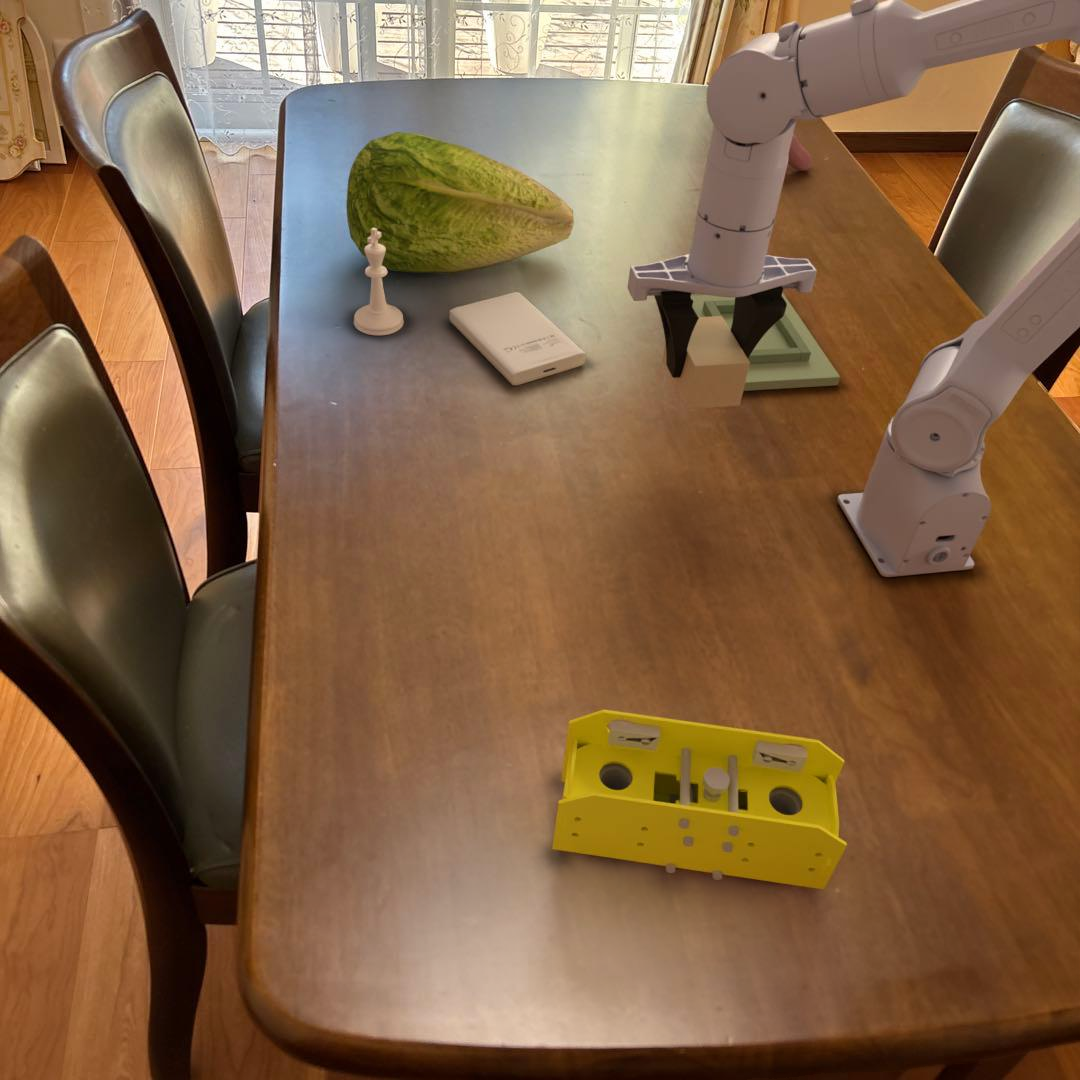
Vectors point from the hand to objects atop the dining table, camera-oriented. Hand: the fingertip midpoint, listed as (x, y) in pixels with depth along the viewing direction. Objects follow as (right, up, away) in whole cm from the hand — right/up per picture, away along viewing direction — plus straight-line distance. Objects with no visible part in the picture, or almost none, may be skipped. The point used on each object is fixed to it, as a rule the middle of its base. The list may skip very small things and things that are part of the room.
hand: (703, 368), depth 85 cm
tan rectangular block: (0, -1, +1) cm, 1 cm away
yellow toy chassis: (-5, -32, -22) cm, 40 cm away
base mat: (+8, +6, +19) cm, 21 cm away
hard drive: (-16, +5, +16) cm, 23 cm away
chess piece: (-30, +7, +18) cm, 35 cm away
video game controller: (+18, +37, +53) cm, 66 cm away
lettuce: (-22, +16, +28) cm, 39 cm away
